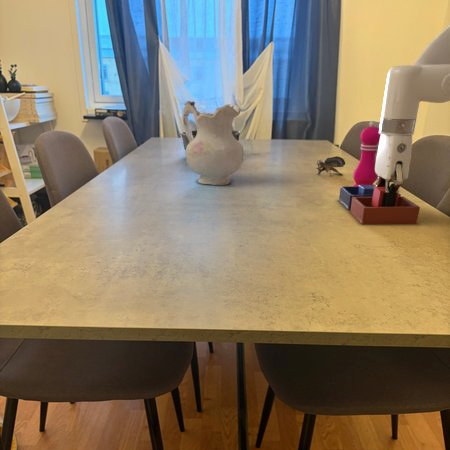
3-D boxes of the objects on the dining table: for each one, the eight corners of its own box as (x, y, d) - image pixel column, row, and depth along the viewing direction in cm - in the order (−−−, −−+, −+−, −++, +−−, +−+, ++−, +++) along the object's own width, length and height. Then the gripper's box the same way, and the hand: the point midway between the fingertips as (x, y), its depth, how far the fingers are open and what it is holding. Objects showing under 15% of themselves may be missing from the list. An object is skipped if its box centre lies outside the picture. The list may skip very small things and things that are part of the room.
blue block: (373, 201, 120) (375, 184, 118) (378, 205, 116) (381, 188, 114) (356, 201, 120) (359, 184, 118) (361, 205, 116) (364, 188, 114)
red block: (389, 204, 108) (392, 186, 106) (395, 209, 104) (399, 190, 102) (371, 204, 108) (374, 186, 106) (377, 209, 104) (380, 191, 102)
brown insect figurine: (323, 174, 149) (348, 168, 149) (317, 155, 150) (342, 149, 150) (317, 182, 157) (341, 177, 157) (312, 164, 157) (336, 158, 158)
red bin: (400, 212, 112) (403, 196, 110) (416, 223, 103) (420, 207, 101) (350, 212, 112) (352, 196, 110) (361, 224, 103) (364, 207, 101)
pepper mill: (351, 192, 131) (360, 121, 122) (351, 187, 137) (359, 119, 128) (376, 193, 129) (387, 122, 120) (374, 188, 136) (385, 119, 126)
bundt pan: (178, 152, 202) (177, 129, 198) (233, 150, 207) (233, 128, 202) (184, 162, 179) (183, 136, 175) (246, 159, 184) (246, 134, 179)
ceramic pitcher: (172, 188, 143) (164, 106, 130) (192, 172, 158) (188, 97, 145) (234, 192, 137) (233, 107, 124) (250, 175, 153) (250, 98, 140)
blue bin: (384, 200, 123) (387, 185, 121) (398, 210, 114) (401, 194, 112) (338, 200, 123) (340, 186, 121) (348, 210, 114) (350, 195, 112)
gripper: (429, 131, 90) (412, 216, 99) (399, 123, 105) (386, 197, 114) (394, 131, 90) (379, 216, 99) (368, 123, 105) (358, 198, 114)
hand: (383, 205), depth 106 cm, fingers closed on red block, 4 cm apart
